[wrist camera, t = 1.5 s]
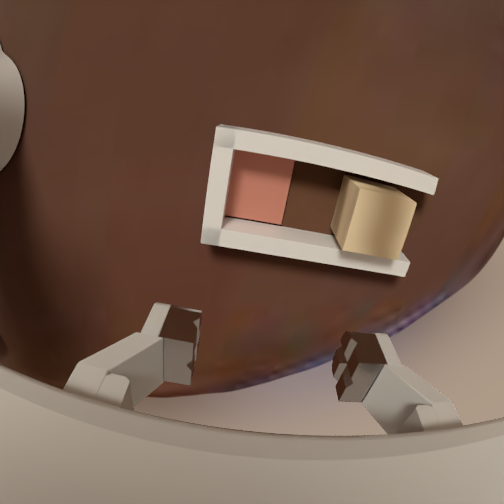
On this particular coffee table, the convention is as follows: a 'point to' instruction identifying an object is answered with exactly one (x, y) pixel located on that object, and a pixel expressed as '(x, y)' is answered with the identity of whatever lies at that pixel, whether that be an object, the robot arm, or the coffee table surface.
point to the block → (371, 218)
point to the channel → (275, 195)
